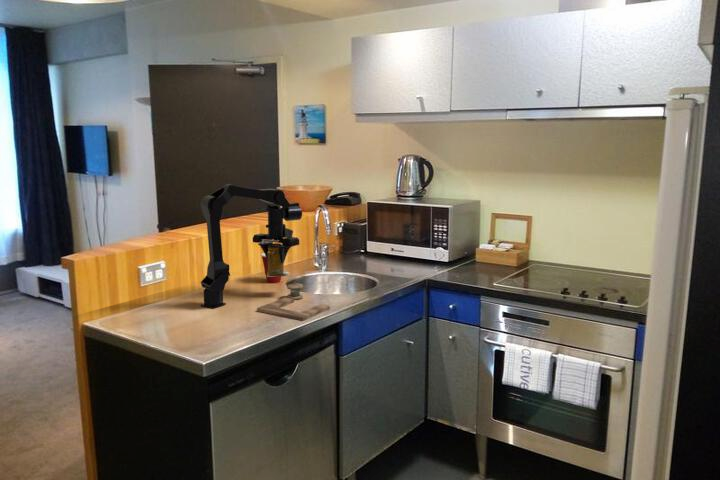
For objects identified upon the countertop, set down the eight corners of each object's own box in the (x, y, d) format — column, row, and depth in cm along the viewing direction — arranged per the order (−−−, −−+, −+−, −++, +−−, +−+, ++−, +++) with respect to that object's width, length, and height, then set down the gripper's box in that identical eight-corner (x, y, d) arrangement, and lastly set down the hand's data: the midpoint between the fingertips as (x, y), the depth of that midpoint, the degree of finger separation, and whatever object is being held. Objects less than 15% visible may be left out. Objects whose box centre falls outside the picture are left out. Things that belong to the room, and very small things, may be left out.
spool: (296, 301, 218) (296, 288, 217) (284, 298, 221) (283, 285, 220) (306, 297, 223) (306, 284, 223) (293, 295, 226) (293, 282, 226)
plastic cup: (292, 280, 249) (291, 253, 247) (276, 285, 240) (275, 257, 238) (272, 277, 255) (271, 250, 253) (255, 282, 246) (255, 254, 243)
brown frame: (303, 320, 195) (303, 317, 195) (257, 311, 205) (257, 307, 205) (329, 309, 209) (329, 305, 209) (285, 300, 219) (285, 297, 218)
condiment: (267, 272, 228) (266, 242, 226) (289, 272, 229) (288, 242, 227) (266, 277, 221) (265, 246, 219) (288, 276, 222) (288, 246, 220)
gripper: (307, 221, 224) (308, 261, 227) (269, 217, 233) (270, 255, 236) (290, 225, 214) (290, 266, 217) (251, 220, 224) (252, 260, 226)
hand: (276, 261), depth 224 cm, fingers closed on condiment, 6 cm apart
